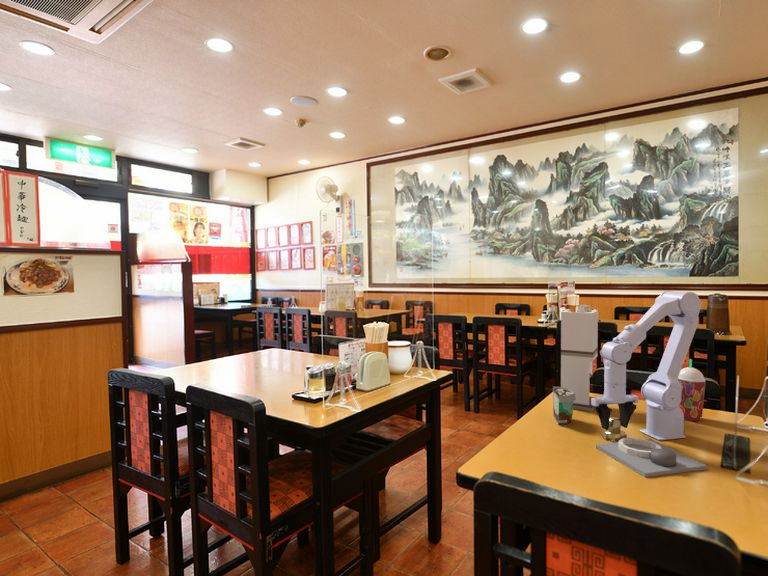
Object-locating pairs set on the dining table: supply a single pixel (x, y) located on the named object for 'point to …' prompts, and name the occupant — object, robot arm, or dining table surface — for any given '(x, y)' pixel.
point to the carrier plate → (649, 457)
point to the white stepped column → (578, 354)
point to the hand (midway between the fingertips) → (614, 427)
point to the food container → (563, 405)
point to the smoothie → (691, 392)
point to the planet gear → (614, 430)
